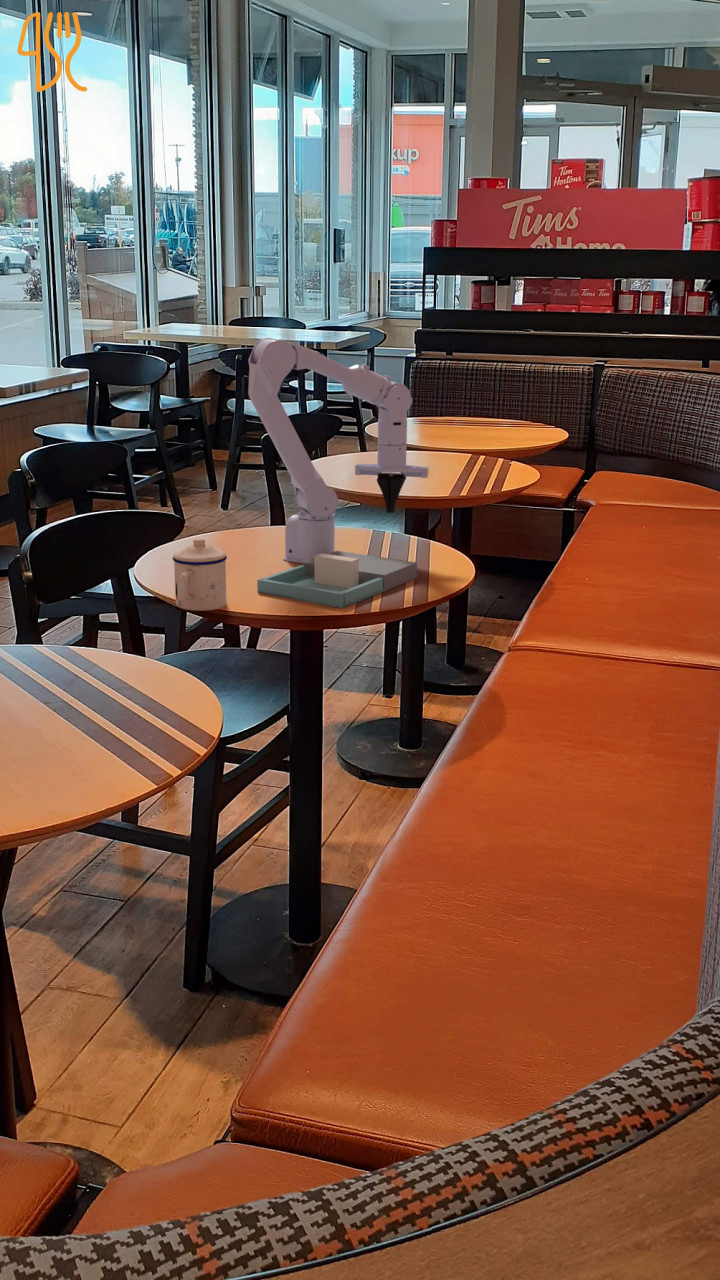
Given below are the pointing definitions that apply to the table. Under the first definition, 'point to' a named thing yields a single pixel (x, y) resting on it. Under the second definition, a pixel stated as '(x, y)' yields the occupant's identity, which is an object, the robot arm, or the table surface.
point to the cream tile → (336, 570)
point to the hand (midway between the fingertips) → (390, 511)
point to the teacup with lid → (200, 577)
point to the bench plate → (375, 569)
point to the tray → (316, 588)
